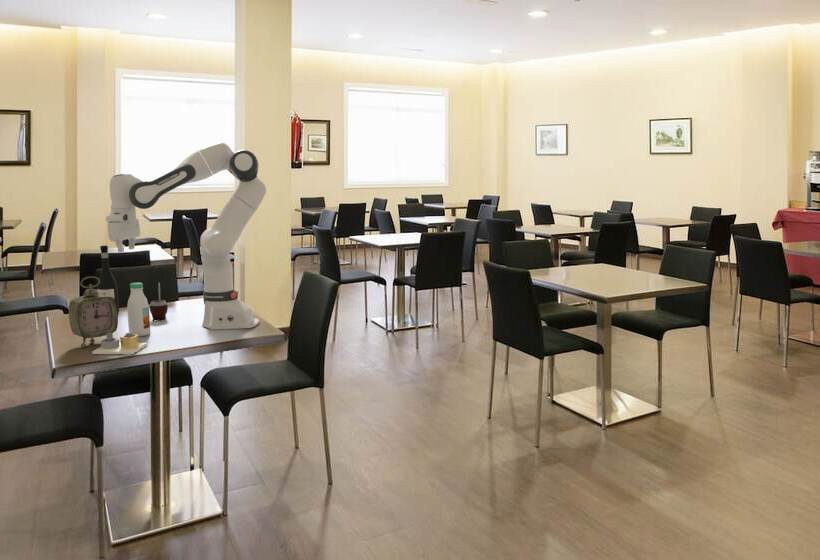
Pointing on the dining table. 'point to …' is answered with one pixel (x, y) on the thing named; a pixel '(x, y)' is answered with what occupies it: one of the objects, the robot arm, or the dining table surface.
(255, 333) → the dining table surface
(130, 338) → the brass gear
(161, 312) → the mate gourd
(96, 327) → the tabletop clock
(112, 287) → the wine bottle
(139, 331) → the milk bottle
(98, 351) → the gear board
